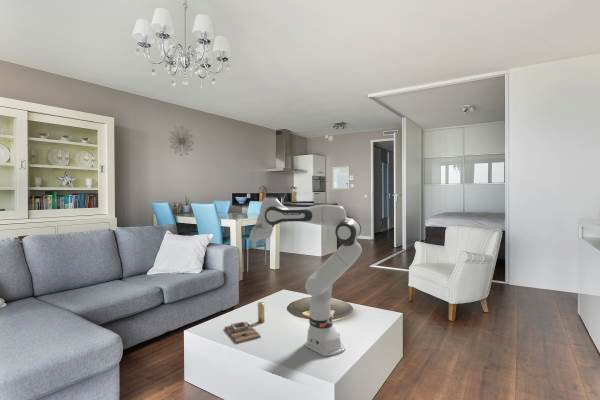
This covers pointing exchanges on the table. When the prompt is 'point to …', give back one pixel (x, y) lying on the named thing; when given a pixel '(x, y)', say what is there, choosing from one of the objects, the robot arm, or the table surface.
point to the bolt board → (242, 332)
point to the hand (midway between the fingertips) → (257, 246)
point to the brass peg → (261, 312)
